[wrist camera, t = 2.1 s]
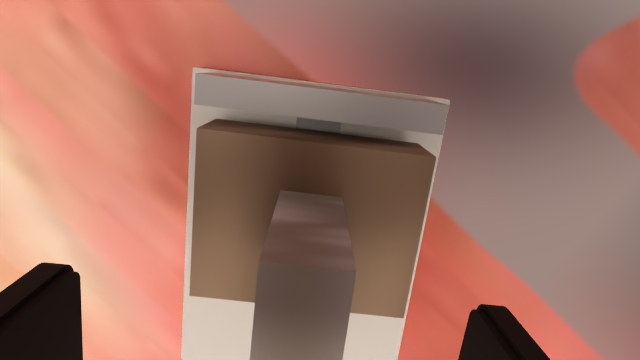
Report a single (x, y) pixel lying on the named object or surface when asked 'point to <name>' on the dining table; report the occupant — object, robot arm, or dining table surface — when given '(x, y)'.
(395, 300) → the carriage
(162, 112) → the dining table surface
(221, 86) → the rail bed
